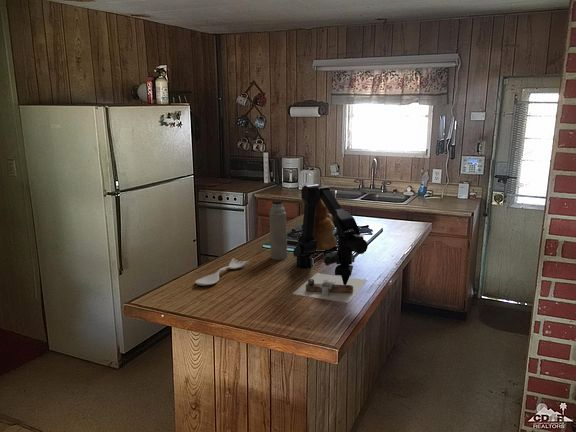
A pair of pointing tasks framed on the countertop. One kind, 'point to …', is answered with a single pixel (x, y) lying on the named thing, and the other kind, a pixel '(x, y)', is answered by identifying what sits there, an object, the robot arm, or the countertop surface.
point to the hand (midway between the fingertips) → (344, 284)
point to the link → (334, 289)
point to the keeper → (327, 287)
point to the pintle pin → (310, 282)
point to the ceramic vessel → (323, 228)
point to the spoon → (215, 277)
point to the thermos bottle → (278, 231)
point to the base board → (333, 296)
